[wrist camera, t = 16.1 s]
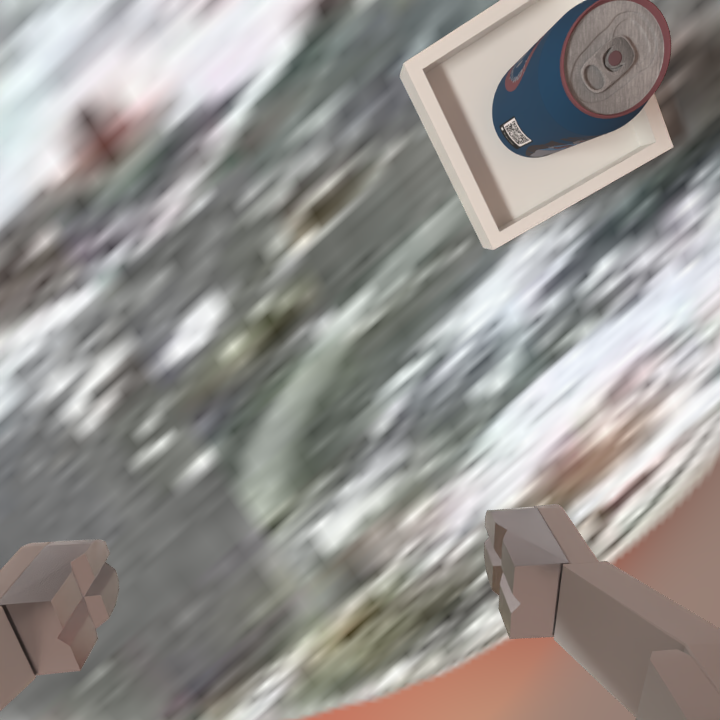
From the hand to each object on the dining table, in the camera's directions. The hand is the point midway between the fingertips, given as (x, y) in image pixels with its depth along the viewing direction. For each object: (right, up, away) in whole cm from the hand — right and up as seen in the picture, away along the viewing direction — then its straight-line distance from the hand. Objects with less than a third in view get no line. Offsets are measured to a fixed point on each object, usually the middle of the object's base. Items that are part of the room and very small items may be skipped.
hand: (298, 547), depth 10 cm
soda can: (+15, +23, +26) cm, 38 cm away
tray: (+15, +23, +27) cm, 38 cm away
